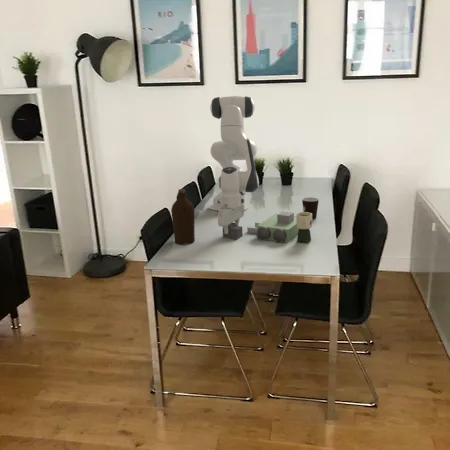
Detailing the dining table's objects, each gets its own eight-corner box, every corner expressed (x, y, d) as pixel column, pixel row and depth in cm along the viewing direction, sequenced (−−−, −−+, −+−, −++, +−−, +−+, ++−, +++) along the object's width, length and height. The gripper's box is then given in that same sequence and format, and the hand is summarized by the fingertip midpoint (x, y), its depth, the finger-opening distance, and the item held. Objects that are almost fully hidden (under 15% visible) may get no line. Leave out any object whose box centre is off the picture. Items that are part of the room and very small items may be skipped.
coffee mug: (318, 220, 267) (318, 201, 264) (301, 219, 269) (301, 201, 266) (318, 214, 278) (319, 196, 275) (302, 213, 280) (302, 195, 277)
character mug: (313, 244, 231) (314, 217, 227) (297, 245, 231) (298, 217, 227) (310, 237, 241) (310, 210, 237) (294, 237, 241) (295, 211, 237)
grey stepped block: (222, 237, 245) (222, 224, 244) (227, 234, 250) (227, 221, 248) (237, 239, 242) (237, 226, 240) (242, 236, 246) (242, 223, 244)
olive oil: (200, 241, 241) (198, 189, 234) (183, 246, 234) (179, 193, 227) (186, 236, 249) (183, 186, 241) (168, 241, 242) (165, 190, 234)
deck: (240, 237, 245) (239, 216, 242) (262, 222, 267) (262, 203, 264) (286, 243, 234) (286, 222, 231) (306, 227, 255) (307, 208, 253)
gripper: (225, 208, 231) (226, 237, 235) (246, 198, 248) (246, 225, 252) (213, 206, 234) (214, 235, 238) (234, 197, 251) (235, 224, 255)
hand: (231, 230), depth 245 cm, fingers open, 8 cm apart
